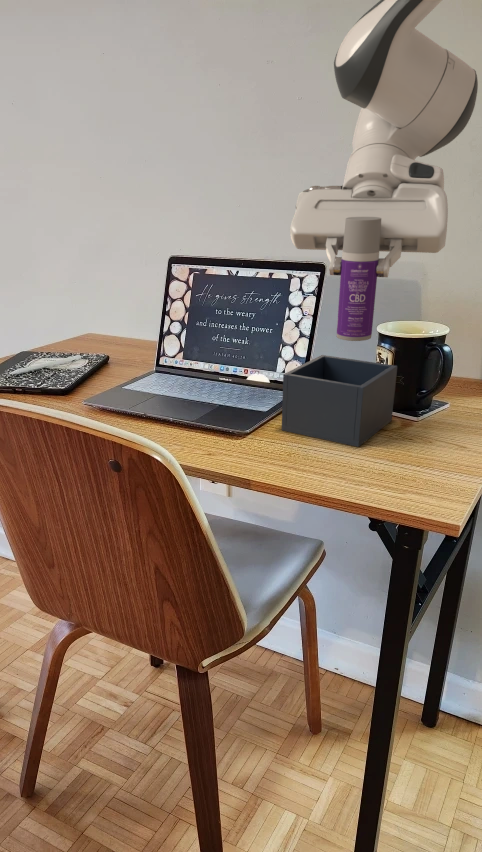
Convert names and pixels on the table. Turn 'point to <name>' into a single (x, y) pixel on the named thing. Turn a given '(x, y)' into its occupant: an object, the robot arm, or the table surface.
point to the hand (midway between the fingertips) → (358, 273)
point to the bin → (338, 399)
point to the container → (358, 278)
